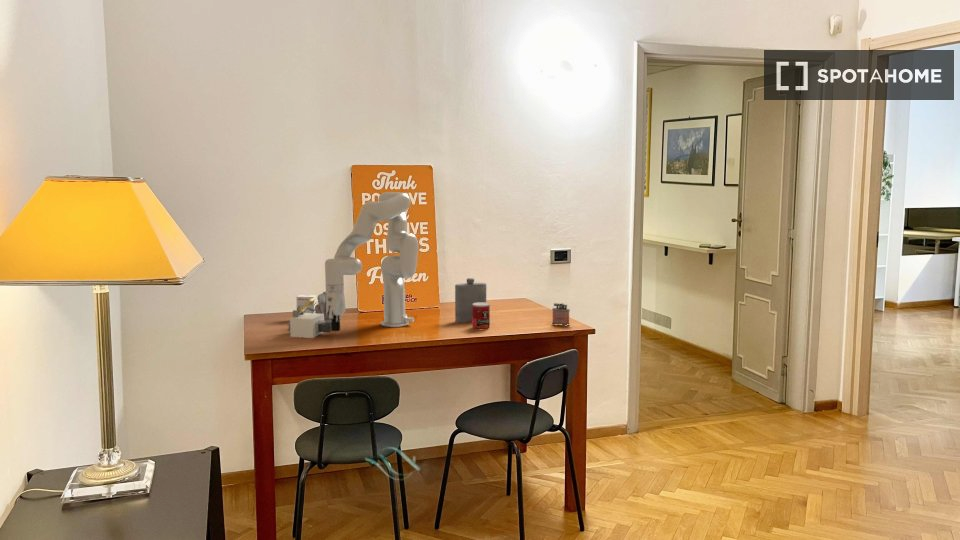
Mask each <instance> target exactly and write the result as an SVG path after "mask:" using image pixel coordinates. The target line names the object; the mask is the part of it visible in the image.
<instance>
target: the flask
mask: <svg viewBox="0 0 960 540" xmlns="http://www.w3.org/2000/svg"><path fill="white" fill-rule="evenodd" d="M454 298H455V299H454V305H455V306H454V310H455V311H454V313H455V314H454V315H455V317H454V319H455V320H454V321H455V323H457V324H464V323H463V322H466V323H472V305H473V303H477V302H485V303H487V283H485V282H475V278H474V277H469V278H466V282H465V283H456V284H455V286H454Z"/></svg>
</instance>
